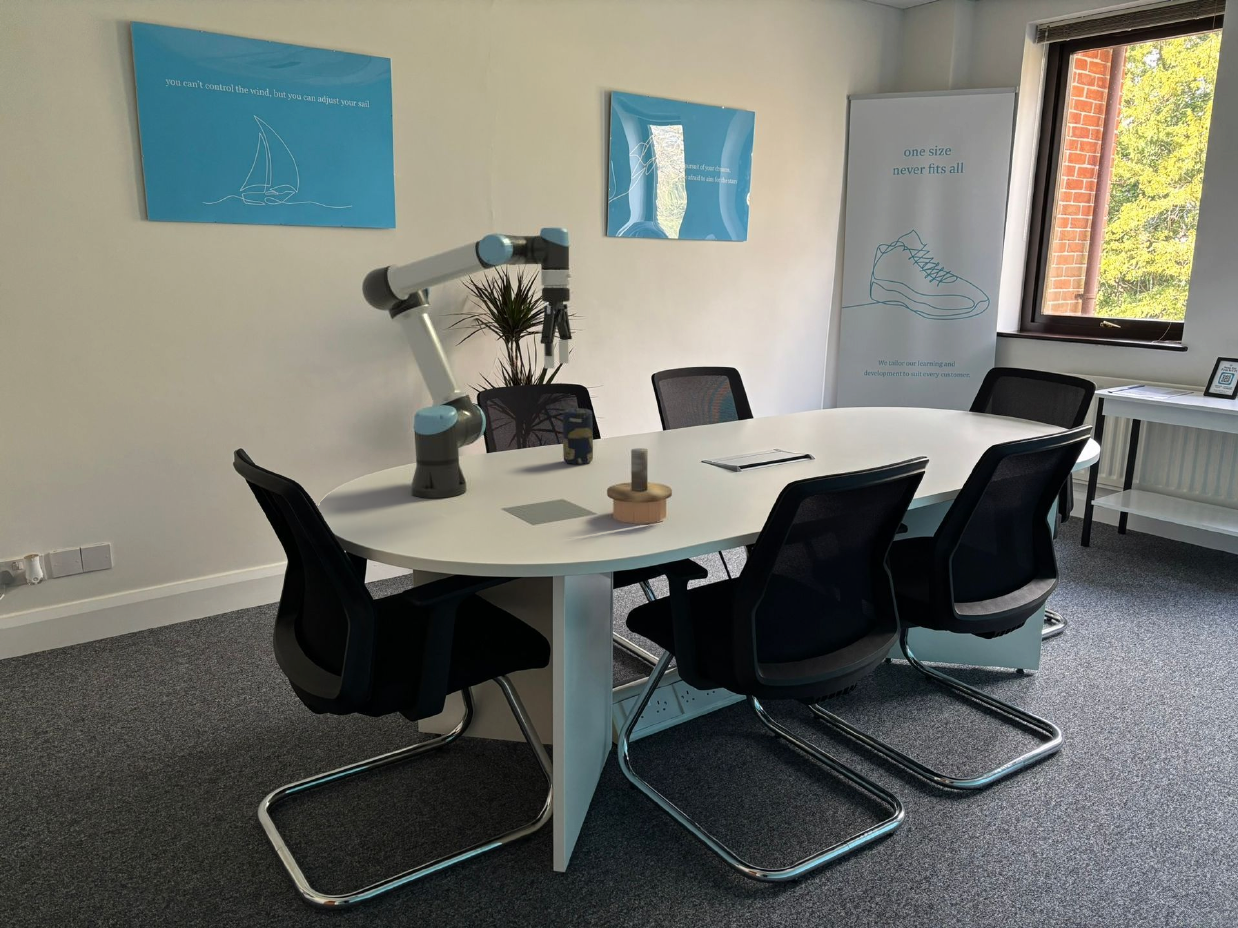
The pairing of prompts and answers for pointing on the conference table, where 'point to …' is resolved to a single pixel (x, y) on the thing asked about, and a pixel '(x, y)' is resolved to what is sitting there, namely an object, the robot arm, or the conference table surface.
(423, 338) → the robot arm
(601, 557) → the conference table surface
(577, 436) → the canister
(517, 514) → the mat
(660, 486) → the lid
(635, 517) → the bowl
